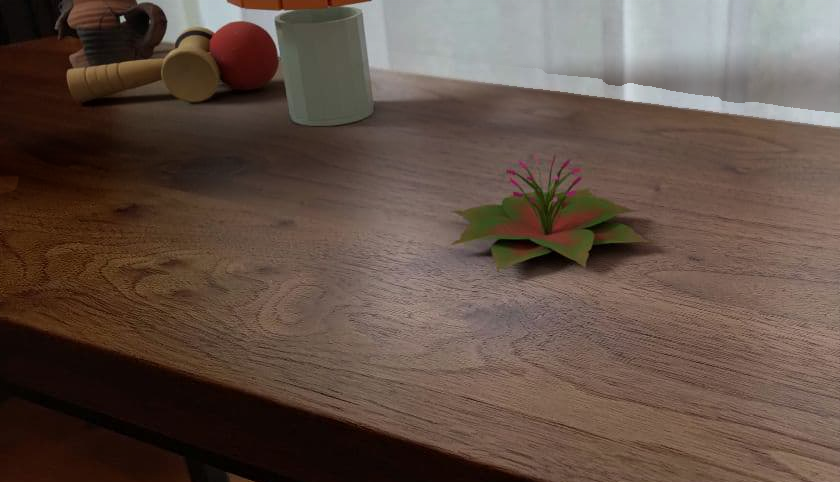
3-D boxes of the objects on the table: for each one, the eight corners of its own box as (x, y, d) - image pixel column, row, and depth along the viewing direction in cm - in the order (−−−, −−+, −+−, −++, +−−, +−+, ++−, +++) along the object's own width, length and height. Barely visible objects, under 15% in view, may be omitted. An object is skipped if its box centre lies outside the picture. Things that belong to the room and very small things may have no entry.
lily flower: (601, 186, 65) (600, 118, 63) (686, 257, 55) (689, 179, 53) (422, 217, 61) (415, 146, 59) (478, 298, 51) (471, 216, 49)
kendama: (72, 131, 85) (279, 85, 86) (45, 57, 83) (258, 10, 84) (100, 121, 92) (291, 79, 93) (76, 52, 90) (271, 10, 91)
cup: (310, 131, 78) (294, 28, 74) (278, 113, 83) (261, 15, 79) (388, 114, 81) (376, 14, 78) (352, 97, 86) (339, 2, 83)
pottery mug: (44, 85, 96) (27, 2, 97) (108, 102, 106) (92, 26, 106) (150, 51, 94) (133, -34, 94) (207, 72, 103) (190, -6, 103)
